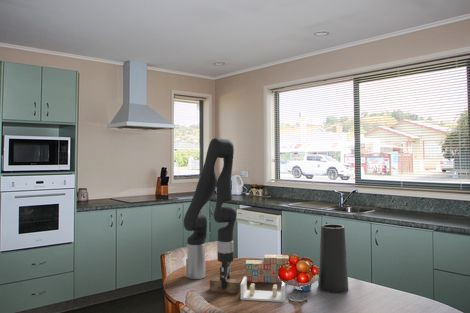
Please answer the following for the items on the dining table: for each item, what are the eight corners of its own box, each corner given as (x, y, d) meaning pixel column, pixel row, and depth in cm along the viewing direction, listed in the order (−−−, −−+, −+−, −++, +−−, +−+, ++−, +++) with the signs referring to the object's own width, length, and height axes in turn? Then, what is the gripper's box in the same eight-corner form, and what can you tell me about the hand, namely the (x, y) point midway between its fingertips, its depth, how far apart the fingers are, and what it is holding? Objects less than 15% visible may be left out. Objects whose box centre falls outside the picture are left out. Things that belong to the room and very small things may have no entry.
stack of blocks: (245, 282, 186) (245, 257, 186) (246, 278, 192) (246, 254, 192) (289, 283, 184) (289, 258, 184) (288, 279, 190) (288, 254, 190)
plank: (209, 291, 175) (209, 280, 175) (213, 287, 179) (213, 277, 179) (238, 294, 170) (238, 283, 170) (241, 290, 175) (241, 280, 174)
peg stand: (240, 299, 163) (240, 283, 163) (244, 291, 173) (243, 276, 173) (284, 302, 160) (284, 286, 160) (285, 293, 170) (285, 278, 170)
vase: (353, 287, 177) (353, 225, 177) (339, 295, 167) (339, 230, 167) (327, 281, 186) (326, 222, 186) (312, 288, 176) (312, 226, 176)
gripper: (220, 246, 182) (221, 280, 182) (214, 253, 168) (214, 290, 168) (236, 246, 181) (236, 281, 181) (230, 254, 167) (230, 291, 167)
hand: (225, 285), depth 175 cm, fingers open, 7 cm apart
